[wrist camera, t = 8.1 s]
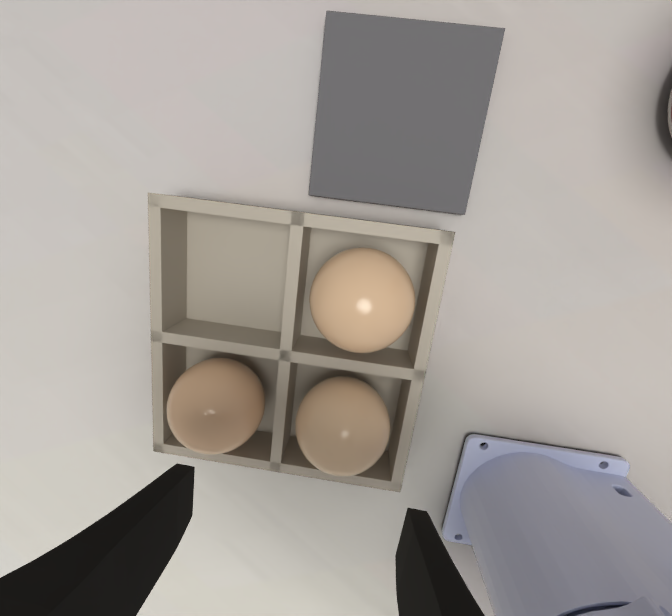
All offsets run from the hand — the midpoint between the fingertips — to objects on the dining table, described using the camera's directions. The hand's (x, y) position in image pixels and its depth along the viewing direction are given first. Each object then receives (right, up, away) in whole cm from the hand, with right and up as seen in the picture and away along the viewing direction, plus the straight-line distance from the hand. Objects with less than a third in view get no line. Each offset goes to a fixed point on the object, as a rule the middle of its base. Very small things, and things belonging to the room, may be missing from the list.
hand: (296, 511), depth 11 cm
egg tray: (-1, +5, +9) cm, 10 cm away
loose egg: (+3, +8, +7) cm, 11 cm away
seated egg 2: (+2, +1, +9) cm, 10 cm away
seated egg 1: (-5, +2, +10) cm, 11 cm away
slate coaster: (+4, +16, +6) cm, 17 cm away
